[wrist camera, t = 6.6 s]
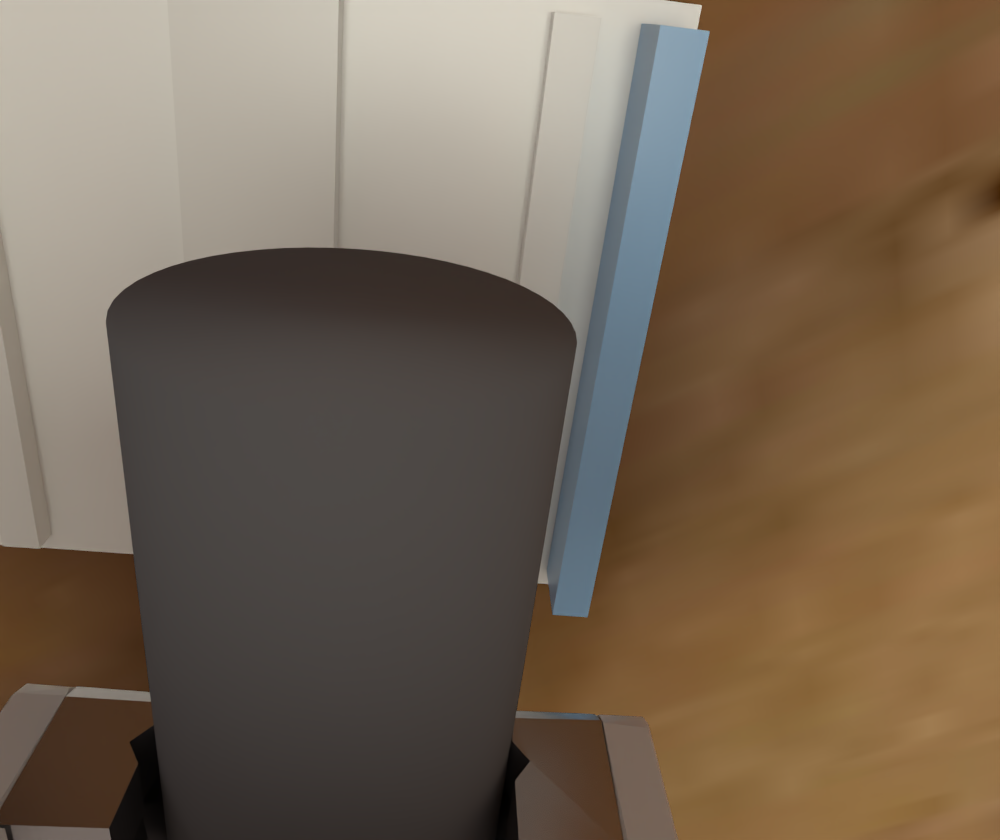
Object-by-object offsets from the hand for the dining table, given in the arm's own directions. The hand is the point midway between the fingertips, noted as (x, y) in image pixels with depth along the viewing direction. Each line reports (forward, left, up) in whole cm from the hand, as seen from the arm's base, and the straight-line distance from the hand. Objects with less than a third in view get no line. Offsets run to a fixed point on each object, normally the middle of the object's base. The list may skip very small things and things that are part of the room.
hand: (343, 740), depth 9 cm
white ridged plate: (0, +3, -14) cm, 15 cm away
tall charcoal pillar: (0, 0, -2) cm, 2 cm away
